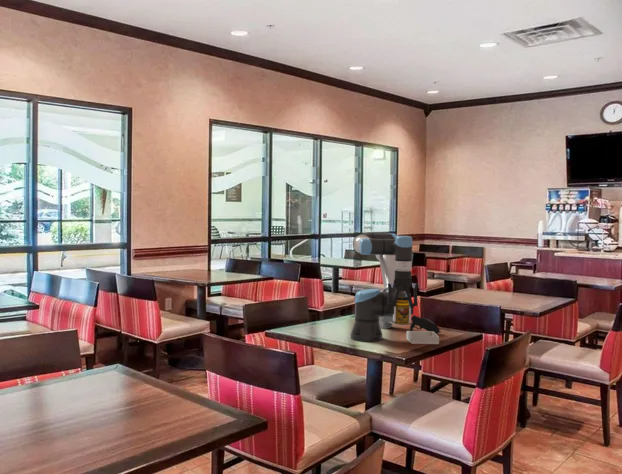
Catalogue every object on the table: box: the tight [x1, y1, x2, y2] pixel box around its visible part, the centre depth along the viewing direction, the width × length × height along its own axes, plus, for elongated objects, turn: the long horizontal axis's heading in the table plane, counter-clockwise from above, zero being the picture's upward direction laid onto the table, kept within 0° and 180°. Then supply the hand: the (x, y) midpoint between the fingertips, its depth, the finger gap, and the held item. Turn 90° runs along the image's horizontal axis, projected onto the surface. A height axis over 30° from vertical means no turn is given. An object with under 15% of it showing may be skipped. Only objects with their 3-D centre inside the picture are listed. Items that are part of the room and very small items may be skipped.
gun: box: [409, 314, 442, 335], centre depth 294 cm, size 3×16×10 cm, turn 89°
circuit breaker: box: [379, 317, 393, 330], centre depth 309 cm, size 8×14×15 cm, turn 58°
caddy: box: [406, 330, 440, 345], centre depth 277 cm, size 13×12×4 cm
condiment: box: [388, 297, 412, 326], centre depth 265 cm, size 7×8×12 cm
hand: (401, 321), depth 265 cm, fingers closed on condiment, 6 cm apart
